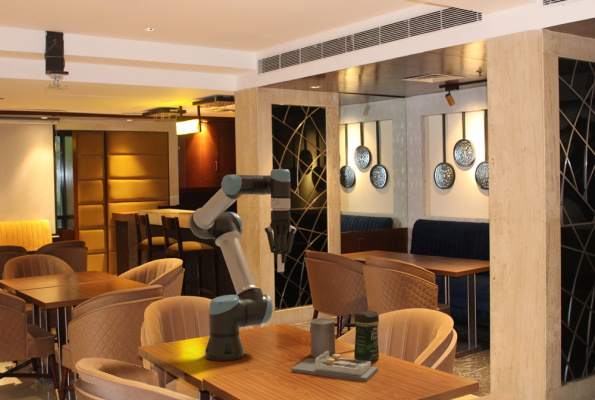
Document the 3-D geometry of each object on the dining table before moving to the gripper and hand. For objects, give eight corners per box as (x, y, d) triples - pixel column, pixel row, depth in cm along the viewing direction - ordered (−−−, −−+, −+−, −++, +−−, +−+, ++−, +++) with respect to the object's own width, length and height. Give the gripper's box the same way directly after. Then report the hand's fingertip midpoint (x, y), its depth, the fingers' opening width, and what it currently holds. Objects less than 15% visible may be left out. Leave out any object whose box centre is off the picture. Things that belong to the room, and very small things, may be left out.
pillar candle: (327, 350, 235) (327, 314, 235) (339, 356, 226) (338, 318, 226) (306, 353, 231) (305, 316, 231) (317, 359, 222) (316, 321, 222)
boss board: (291, 371, 206) (291, 358, 206) (307, 361, 219) (306, 348, 219) (366, 381, 195) (366, 367, 195) (378, 370, 208) (378, 356, 208)
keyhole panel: (315, 370, 204) (315, 358, 204) (326, 362, 214) (326, 350, 214) (361, 375, 197) (361, 363, 197) (370, 367, 207) (370, 355, 207)
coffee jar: (367, 364, 216) (367, 314, 216) (351, 360, 221) (350, 311, 221) (382, 358, 223) (382, 310, 223) (366, 355, 228) (365, 308, 228)
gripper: (260, 209, 218) (261, 271, 218) (291, 210, 213) (292, 273, 213) (269, 209, 225) (270, 269, 225) (300, 209, 220) (300, 271, 220)
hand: (280, 271), depth 219 cm, fingers closed
